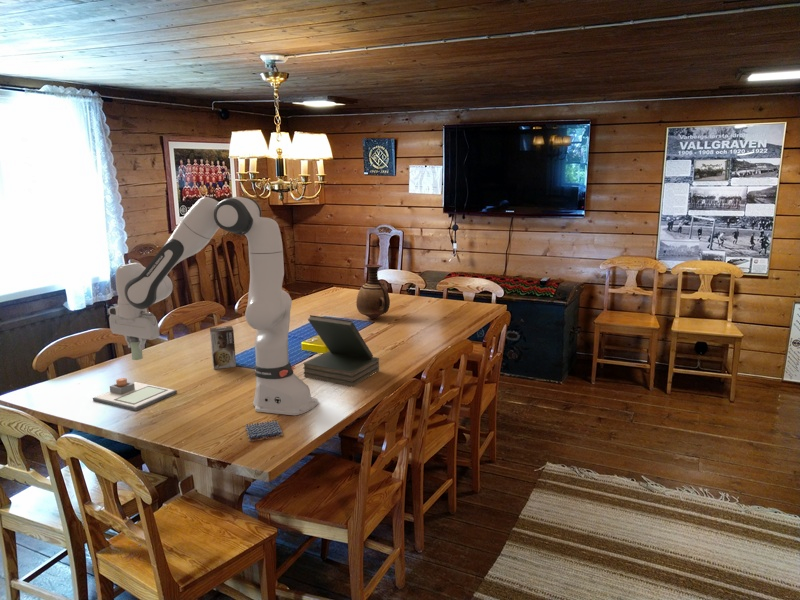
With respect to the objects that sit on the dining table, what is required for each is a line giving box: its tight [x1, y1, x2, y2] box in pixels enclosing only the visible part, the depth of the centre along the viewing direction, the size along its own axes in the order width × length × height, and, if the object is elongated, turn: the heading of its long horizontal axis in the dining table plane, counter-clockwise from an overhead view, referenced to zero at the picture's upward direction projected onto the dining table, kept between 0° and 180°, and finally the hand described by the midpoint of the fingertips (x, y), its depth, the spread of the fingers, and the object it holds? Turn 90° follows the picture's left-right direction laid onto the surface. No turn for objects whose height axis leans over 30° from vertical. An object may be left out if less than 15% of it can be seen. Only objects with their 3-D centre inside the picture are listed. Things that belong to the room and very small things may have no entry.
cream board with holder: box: [92, 381, 178, 412], centre depth 205 cm, size 21×18×4 cm
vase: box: [356, 263, 391, 319], centre depth 313 cm, size 21×18×30 cm
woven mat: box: [244, 419, 284, 442], centre depth 177 cm, size 10×11×2 cm
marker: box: [130, 336, 144, 361], centre depth 200 cm, size 4×4×8 cm
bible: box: [302, 314, 380, 388], centre depth 226 cm, size 23×20×25 cm
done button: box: [115, 377, 128, 387], centre depth 207 cm, size 3×3×2 cm
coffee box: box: [209, 325, 237, 370], centre depth 237 cm, size 9×6×16 cm
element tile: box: [300, 334, 329, 354], centre depth 262 cm, size 15×15×5 cm
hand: (136, 348), depth 200 cm, fingers closed on marker, 3 cm apart
